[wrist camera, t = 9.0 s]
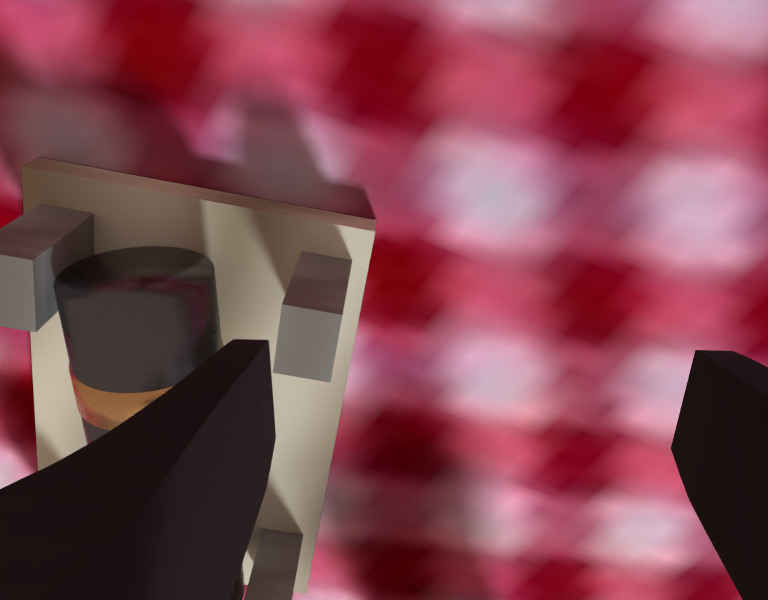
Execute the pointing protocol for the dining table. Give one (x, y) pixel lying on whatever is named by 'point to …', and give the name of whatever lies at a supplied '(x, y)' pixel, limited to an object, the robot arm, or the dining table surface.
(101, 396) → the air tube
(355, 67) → the dining table surface
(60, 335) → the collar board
